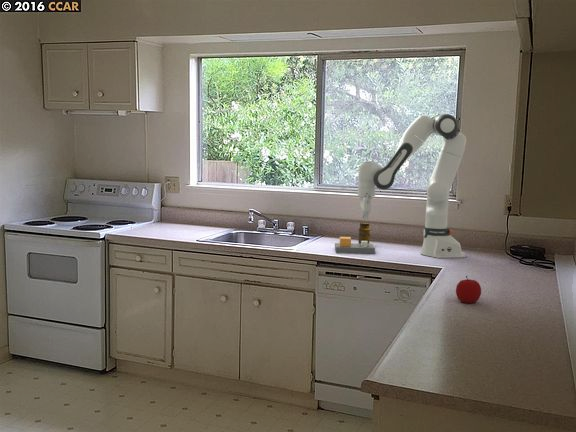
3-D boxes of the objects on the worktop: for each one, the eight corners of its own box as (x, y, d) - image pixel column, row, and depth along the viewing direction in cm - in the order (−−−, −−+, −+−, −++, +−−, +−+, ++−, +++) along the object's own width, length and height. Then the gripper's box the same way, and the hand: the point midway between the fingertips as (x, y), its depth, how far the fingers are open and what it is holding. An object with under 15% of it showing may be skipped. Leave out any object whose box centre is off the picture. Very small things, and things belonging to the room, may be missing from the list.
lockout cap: (350, 244, 326) (350, 236, 325) (350, 246, 320) (351, 238, 319) (339, 244, 326) (339, 236, 325) (340, 246, 320) (340, 238, 320)
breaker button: (366, 250, 324) (367, 240, 324) (367, 251, 321) (367, 241, 321) (360, 250, 324) (361, 240, 324) (361, 251, 322) (361, 241, 321)
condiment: (372, 245, 342) (373, 223, 340) (362, 246, 336) (363, 225, 335) (362, 243, 347) (363, 222, 346) (352, 244, 341) (353, 223, 340)
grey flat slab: (372, 249, 329) (372, 242, 328) (374, 254, 317) (375, 247, 316) (334, 248, 329) (334, 241, 329) (335, 252, 317) (336, 246, 317)
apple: (469, 306, 225) (471, 279, 224) (449, 300, 232) (451, 274, 231) (485, 303, 230) (487, 276, 229) (465, 297, 238) (467, 271, 236)
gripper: (374, 194, 308) (373, 222, 310) (370, 190, 329) (369, 216, 331) (362, 194, 308) (360, 221, 310) (358, 190, 329) (357, 216, 331)
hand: (365, 219), depth 321 cm, fingers open, 6 cm apart
